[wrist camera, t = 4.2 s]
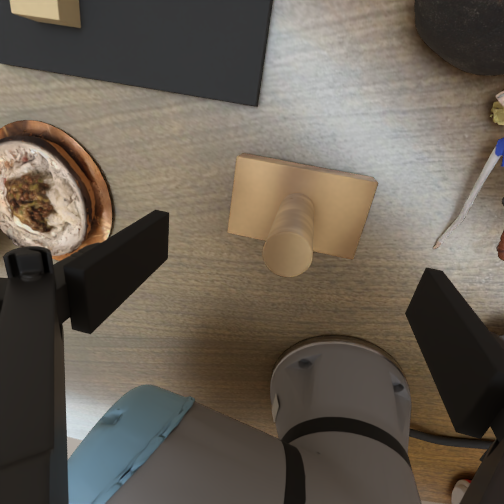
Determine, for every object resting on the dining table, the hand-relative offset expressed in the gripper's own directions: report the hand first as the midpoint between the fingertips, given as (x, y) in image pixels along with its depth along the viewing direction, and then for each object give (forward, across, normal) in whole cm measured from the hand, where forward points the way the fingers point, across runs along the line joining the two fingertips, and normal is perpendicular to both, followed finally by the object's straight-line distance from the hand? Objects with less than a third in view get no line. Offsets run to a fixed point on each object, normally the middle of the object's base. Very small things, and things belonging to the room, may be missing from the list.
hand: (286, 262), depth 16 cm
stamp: (+14, 0, 0) cm, 14 cm away
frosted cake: (+14, -26, -5) cm, 30 cm away
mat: (+14, -17, +12) cm, 25 cm away
